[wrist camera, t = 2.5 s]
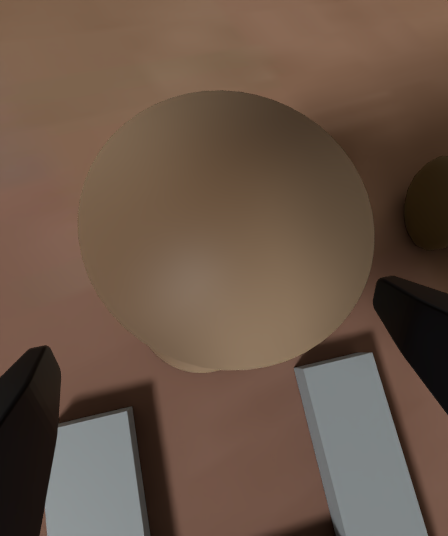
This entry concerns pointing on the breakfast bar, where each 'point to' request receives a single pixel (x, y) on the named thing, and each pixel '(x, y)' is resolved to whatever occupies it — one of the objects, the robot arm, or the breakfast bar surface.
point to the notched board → (324, 442)
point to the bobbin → (225, 231)
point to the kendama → (428, 206)
